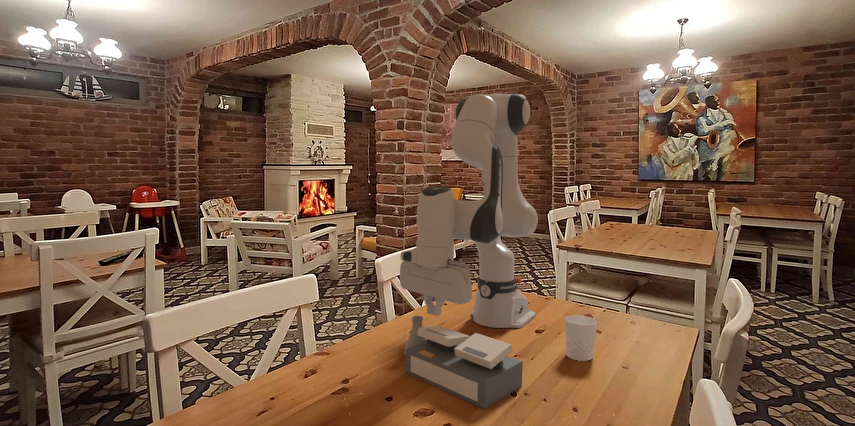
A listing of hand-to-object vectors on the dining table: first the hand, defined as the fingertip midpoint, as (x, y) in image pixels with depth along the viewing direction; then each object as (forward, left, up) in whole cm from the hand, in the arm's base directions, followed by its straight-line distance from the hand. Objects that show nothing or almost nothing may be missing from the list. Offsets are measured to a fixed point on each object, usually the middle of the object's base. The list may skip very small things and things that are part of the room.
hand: (433, 314), depth 109 cm
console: (-4, +6, -15) cm, 17 cm away
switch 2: (-4, +12, -7) cm, 14 cm away
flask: (-7, -12, -16) cm, 21 cm away
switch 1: (-4, 0, -7) cm, 8 cm away
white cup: (-36, +20, -16) cm, 44 cm away
